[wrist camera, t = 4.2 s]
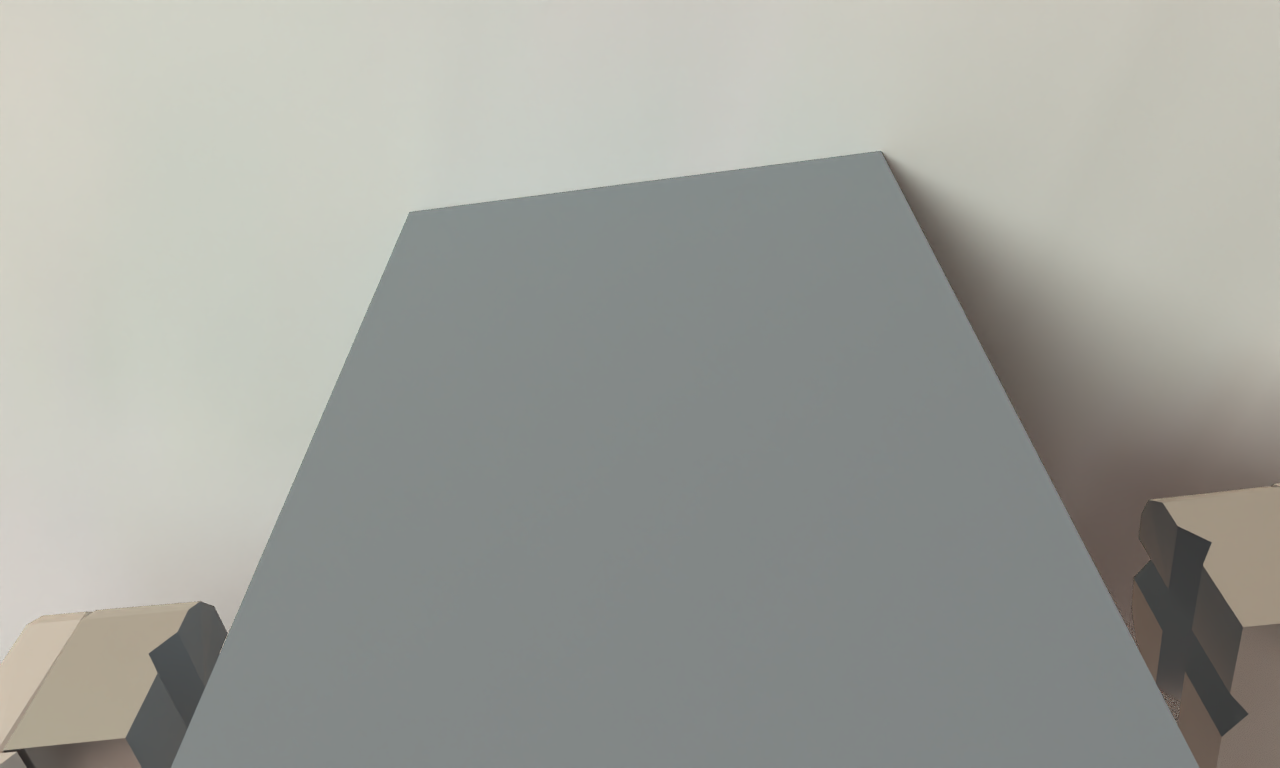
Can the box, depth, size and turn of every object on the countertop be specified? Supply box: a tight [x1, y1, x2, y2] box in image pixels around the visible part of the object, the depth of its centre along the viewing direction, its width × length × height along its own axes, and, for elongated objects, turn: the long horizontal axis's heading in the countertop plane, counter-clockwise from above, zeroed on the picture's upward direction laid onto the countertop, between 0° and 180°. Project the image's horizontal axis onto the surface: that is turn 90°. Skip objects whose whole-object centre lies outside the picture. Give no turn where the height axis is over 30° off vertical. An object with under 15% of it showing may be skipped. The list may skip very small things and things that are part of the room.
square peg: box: [171, 151, 1199, 768], centre depth 9 cm, size 5×5×10 cm
